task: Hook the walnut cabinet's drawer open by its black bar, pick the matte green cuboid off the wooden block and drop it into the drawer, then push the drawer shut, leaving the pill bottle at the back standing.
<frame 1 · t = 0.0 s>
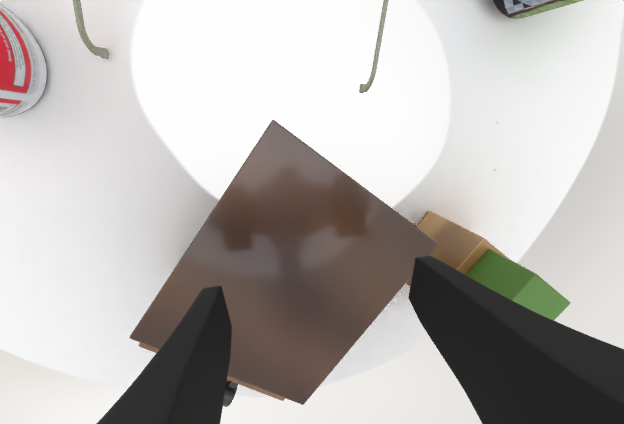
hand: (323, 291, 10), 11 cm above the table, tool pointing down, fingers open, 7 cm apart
matte green cuboid: (479, 290, 18), point 6 cm above the table, touching wooden block
cabinet: (282, 233, 21), on the table
drawer: (250, 303, 18), point 4 cm above the table, slide at 0.0 cm
wooden block: (428, 251, 23), on the table
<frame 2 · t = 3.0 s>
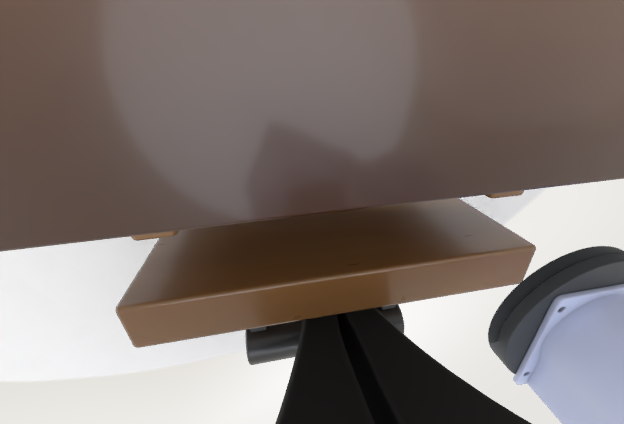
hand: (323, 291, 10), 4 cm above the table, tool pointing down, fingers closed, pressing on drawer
drawer: (319, 144, 7), point 4 cm above the table, slide at 2.0 cm, touching gripper
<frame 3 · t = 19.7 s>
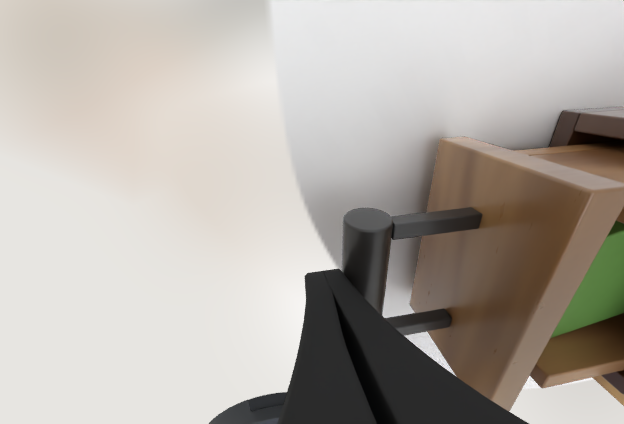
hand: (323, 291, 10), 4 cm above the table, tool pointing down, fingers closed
matte green cuboid: (529, 239, 13), point 2 cm above the table, touching drawer
cabinet: (618, 200, 16), on the table
drawer: (533, 261, 11), point 4 cm above the table, slide at 5.4 cm, touching gripper, matte green cuboid
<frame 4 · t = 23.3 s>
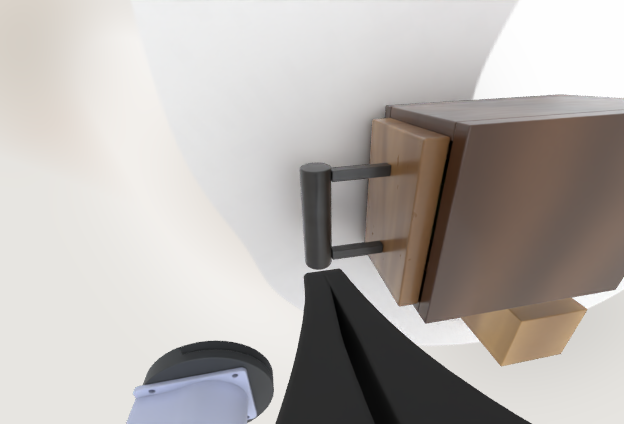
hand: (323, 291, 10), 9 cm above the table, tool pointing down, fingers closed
cabinet: (459, 176, 20), on the table
drawer: (438, 204, 16), point 4 cm above the table, slide at 0.0 cm, touching matte green cuboid
wooden block: (485, 285, 26), on the table
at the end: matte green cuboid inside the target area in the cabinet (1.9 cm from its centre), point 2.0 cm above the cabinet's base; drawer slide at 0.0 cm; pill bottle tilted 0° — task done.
